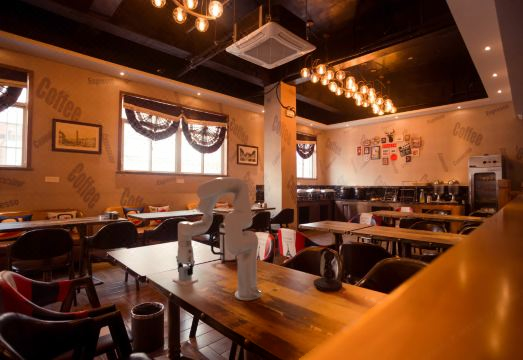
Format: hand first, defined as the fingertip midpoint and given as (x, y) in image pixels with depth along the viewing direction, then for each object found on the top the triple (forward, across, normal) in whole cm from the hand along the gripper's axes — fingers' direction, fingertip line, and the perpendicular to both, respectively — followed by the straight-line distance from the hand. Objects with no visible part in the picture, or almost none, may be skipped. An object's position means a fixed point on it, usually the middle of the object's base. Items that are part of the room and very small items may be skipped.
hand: (185, 273), depth 161 cm
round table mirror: (+5, -67, -43) cm, 80 cm away
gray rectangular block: (+3, 0, 0) cm, 3 cm away
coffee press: (+5, +13, -43) cm, 45 cm away
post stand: (+4, 0, 0) cm, 4 cm away
